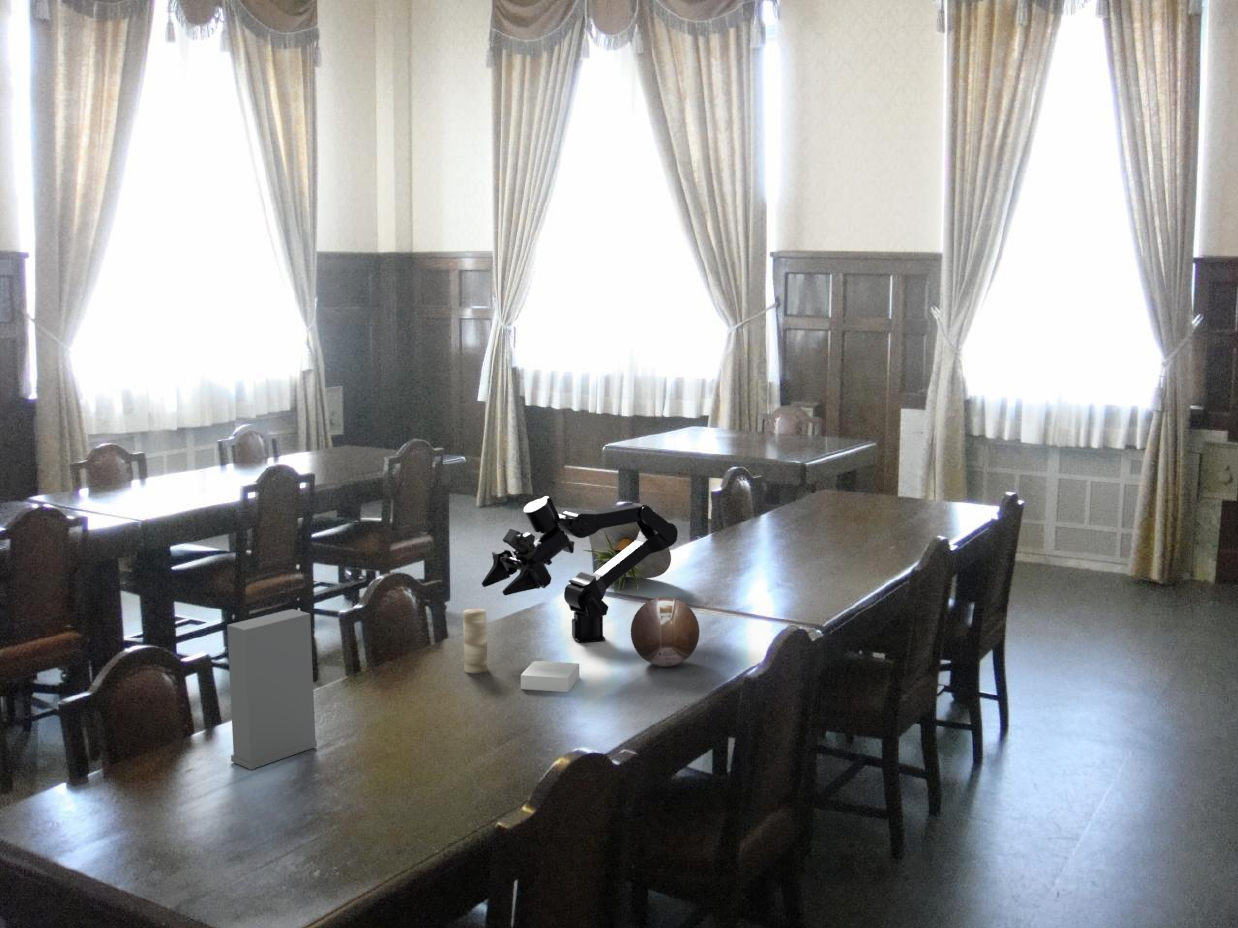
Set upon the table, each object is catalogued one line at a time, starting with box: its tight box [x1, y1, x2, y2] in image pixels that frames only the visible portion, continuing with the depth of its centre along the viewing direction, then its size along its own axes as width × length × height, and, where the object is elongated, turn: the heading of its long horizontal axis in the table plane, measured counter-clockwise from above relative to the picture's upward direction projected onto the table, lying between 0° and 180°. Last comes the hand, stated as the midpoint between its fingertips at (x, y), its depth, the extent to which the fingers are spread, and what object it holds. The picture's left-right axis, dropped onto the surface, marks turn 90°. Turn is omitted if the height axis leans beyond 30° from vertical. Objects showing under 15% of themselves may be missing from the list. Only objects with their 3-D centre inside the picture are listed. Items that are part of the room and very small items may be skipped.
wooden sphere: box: [630, 596, 700, 668], centre depth 271 cm, size 15×15×15 cm
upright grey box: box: [226, 608, 318, 771], centre depth 219 cm, size 14×6×25 cm, turn 141°
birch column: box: [462, 608, 489, 674], centre depth 268 cm, size 5×5×13 cm
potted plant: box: [583, 522, 672, 592], centre depth 342 cm, size 25×18×25 cm
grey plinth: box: [520, 660, 580, 693], centre depth 260 cm, size 10×10×3 cm
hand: (492, 589), depth 276 cm, fingers open, 9 cm apart
